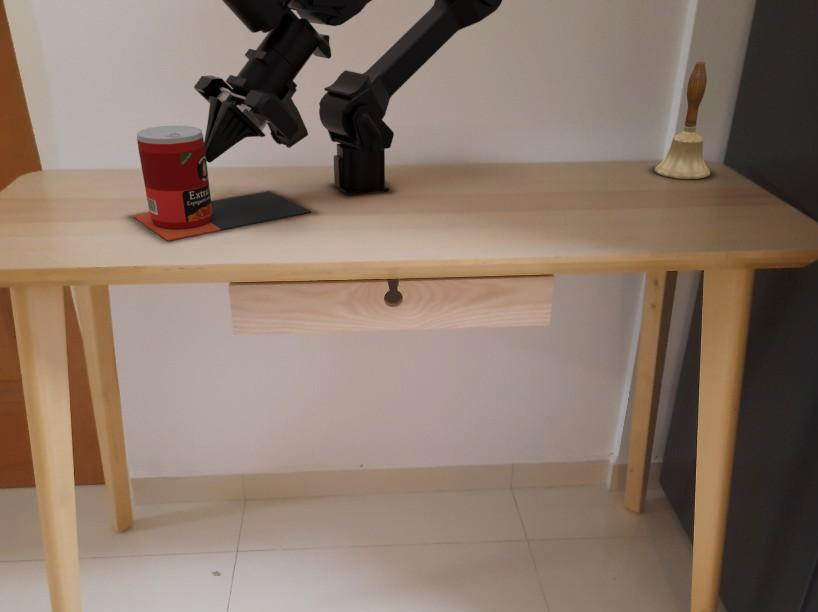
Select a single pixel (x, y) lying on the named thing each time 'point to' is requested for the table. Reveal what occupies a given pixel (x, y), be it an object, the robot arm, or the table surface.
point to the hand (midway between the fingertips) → (205, 160)
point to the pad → (175, 233)
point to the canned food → (175, 176)
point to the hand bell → (688, 136)
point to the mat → (252, 210)
